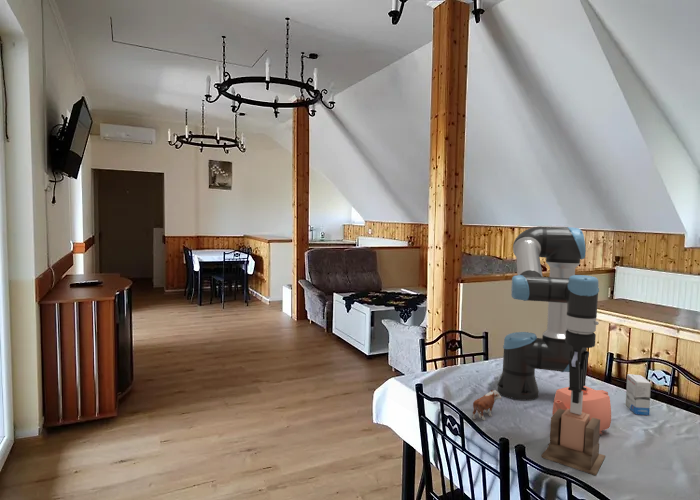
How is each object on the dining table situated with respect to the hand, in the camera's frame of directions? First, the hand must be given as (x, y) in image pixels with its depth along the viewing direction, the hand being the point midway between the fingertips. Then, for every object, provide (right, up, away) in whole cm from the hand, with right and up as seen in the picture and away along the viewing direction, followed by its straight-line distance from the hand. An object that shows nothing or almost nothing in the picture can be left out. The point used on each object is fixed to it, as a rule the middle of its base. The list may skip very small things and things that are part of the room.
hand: (575, 412), depth 129 cm
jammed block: (0, -13, +1) cm, 13 cm away
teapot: (+10, -12, +18) cm, 24 cm away
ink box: (+39, -11, +34) cm, 53 cm away
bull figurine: (-18, -11, +27) cm, 34 cm away
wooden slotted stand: (0, -13, +1) cm, 13 cm away
